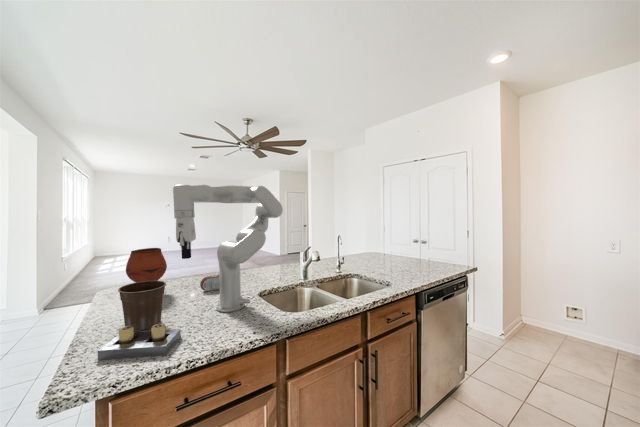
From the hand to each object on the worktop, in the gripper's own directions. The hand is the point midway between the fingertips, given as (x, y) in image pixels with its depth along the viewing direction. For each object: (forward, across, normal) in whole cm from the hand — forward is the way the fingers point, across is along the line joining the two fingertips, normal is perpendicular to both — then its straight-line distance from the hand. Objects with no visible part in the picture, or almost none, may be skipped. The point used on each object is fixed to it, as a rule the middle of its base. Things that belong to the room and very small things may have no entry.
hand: (186, 258), depth 111 cm
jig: (+26, -21, +8) cm, 35 cm away
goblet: (+27, +41, +35) cm, 60 cm away
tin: (+28, +43, 0) cm, 51 cm away
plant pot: (+26, -2, +17) cm, 31 cm away
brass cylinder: (+26, -21, +3) cm, 34 cm away
